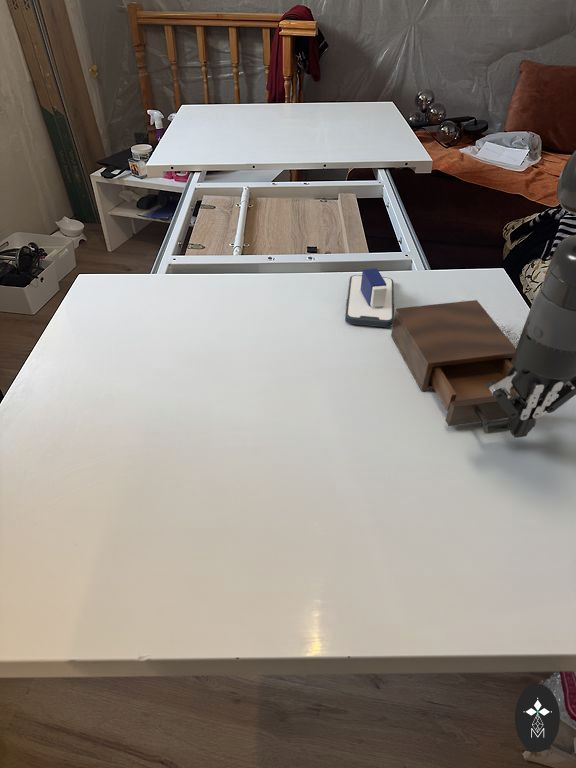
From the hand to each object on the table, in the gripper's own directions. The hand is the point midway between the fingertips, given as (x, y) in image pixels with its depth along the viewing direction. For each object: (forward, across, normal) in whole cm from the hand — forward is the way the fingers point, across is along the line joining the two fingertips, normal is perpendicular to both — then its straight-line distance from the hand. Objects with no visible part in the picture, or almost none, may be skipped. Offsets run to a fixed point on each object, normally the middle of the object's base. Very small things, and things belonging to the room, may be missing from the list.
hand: (516, 432), depth 72 cm
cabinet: (+4, 0, -21) cm, 21 cm away
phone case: (+4, +8, -39) cm, 40 cm away
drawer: (+3, 0, -10) cm, 10 cm away
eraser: (+2, +8, -39) cm, 40 cm away
